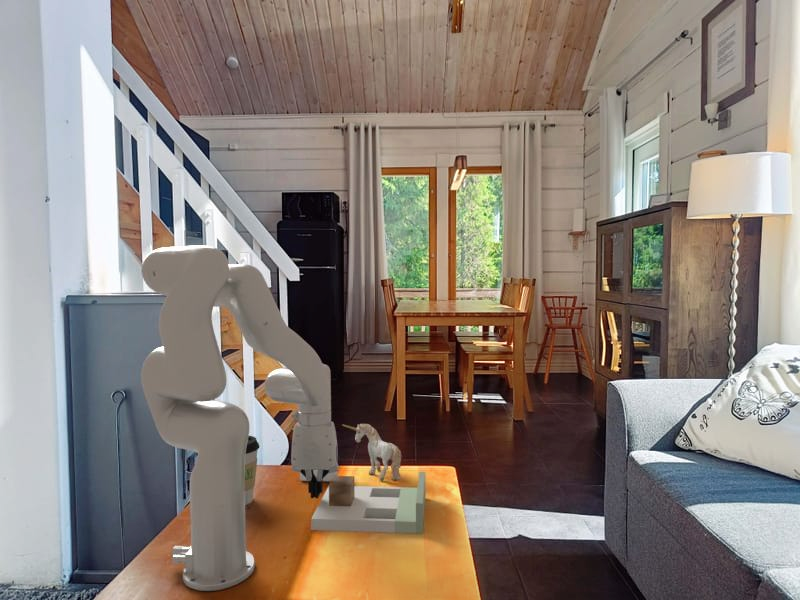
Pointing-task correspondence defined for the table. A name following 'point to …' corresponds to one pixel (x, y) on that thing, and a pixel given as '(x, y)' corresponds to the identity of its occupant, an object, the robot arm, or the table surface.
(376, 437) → the unicorn figurine
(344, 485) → the walnut block
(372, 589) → the table surface
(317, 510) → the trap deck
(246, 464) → the coffee cup
